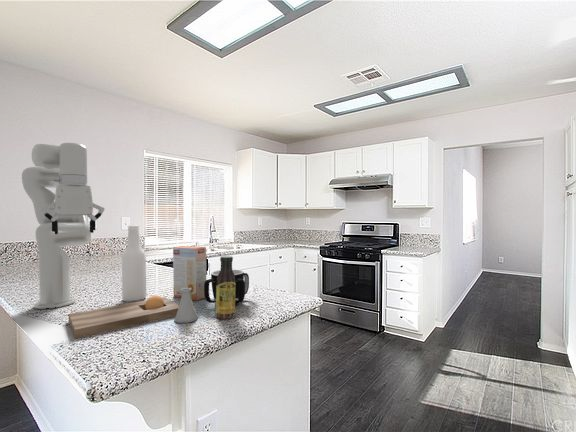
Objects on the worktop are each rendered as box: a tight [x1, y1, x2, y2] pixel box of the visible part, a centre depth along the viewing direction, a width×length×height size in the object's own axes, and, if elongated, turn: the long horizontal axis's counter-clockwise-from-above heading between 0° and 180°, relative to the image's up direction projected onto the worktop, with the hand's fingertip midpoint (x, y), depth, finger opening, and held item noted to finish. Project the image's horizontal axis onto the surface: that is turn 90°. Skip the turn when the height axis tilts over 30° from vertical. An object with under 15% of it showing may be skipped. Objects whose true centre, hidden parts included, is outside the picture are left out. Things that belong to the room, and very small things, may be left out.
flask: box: [173, 288, 199, 324], centre depth 98 cm, size 7×7×10 cm
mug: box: [204, 269, 250, 306], centre depth 116 cm, size 16×16×12 cm
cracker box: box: [172, 245, 207, 301], centre depth 126 cm, size 14×6×21 cm, turn 58°
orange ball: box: [145, 294, 164, 310], centre depth 106 cm, size 6×6×6 cm
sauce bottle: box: [215, 255, 236, 320], centre depth 101 cm, size 6×6×20 cm
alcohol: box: [121, 225, 147, 303], centre depth 124 cm, size 9×9×30 cm
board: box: [68, 296, 180, 339], centre depth 101 cm, size 18×30×2 cm, turn 130°
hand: (74, 233), depth 101 cm, fingers open, 9 cm apart
